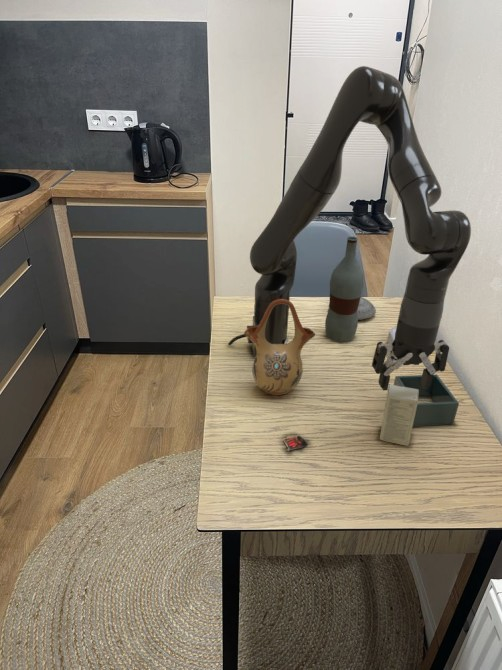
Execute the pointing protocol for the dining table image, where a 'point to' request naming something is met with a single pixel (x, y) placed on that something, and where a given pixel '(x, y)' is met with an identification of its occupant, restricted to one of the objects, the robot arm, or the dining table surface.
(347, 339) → the bottle
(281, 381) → the ceramic vessel
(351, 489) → the dining table surface
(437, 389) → the teal cube shelf
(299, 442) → the matchbox
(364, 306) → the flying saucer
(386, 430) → the cosmetic box
